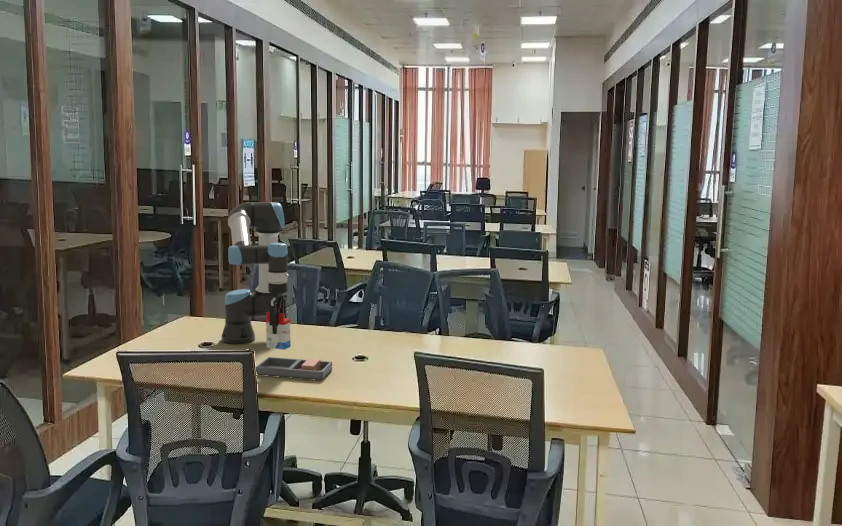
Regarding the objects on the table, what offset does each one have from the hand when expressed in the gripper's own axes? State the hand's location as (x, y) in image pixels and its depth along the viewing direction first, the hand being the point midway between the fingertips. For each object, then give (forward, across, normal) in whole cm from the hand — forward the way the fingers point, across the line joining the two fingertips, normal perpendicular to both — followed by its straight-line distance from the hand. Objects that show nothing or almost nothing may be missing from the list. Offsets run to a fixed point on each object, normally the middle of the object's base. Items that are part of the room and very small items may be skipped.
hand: (278, 339), depth 273 cm
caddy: (+13, 0, -7) cm, 15 cm away
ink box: (+4, 0, 0) cm, 4 cm away
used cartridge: (+13, 0, -14) cm, 19 cm away
